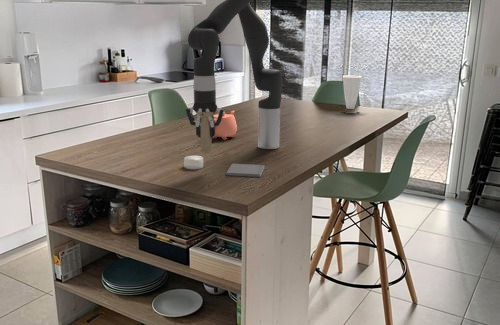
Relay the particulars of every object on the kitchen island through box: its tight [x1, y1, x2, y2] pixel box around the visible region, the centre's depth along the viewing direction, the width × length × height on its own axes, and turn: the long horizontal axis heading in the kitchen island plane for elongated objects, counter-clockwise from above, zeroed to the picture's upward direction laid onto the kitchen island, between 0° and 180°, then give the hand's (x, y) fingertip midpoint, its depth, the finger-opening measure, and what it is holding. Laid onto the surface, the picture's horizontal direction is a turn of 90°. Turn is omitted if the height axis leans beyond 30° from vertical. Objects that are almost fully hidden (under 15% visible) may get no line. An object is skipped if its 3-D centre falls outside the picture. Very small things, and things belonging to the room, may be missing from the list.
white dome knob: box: [183, 155, 204, 170], centre depth 191 cm, size 7×7×4 cm
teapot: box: [212, 110, 238, 141], centre depth 239 cm, size 20×12×12 cm, turn 152°
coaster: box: [225, 163, 265, 178], centre depth 185 cm, size 12×12×1 cm
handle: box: [195, 111, 216, 154], centre depth 181 cm, size 5×6×15 cm
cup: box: [342, 74, 363, 110], centre depth 309 cm, size 12×12×22 cm
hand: (205, 136), depth 181 cm, fingers closed on handle, 4 cm apart
